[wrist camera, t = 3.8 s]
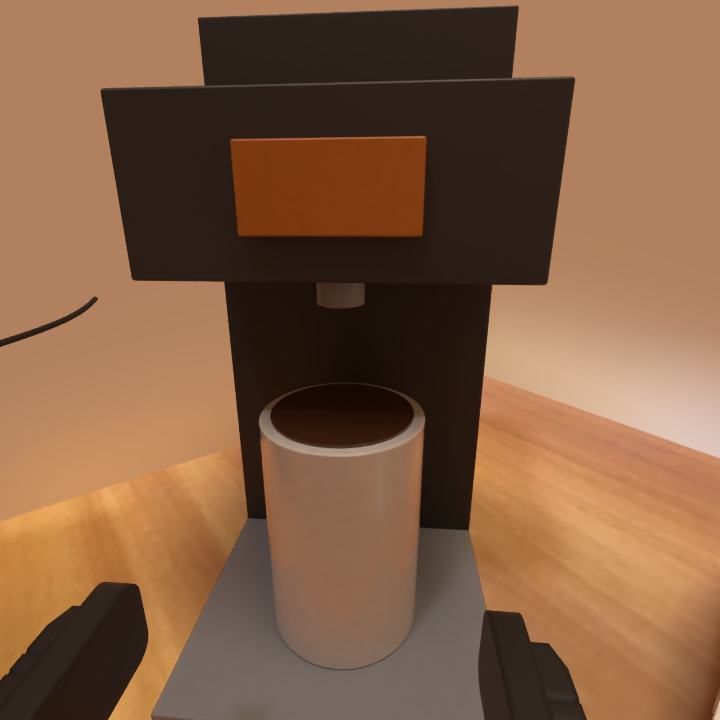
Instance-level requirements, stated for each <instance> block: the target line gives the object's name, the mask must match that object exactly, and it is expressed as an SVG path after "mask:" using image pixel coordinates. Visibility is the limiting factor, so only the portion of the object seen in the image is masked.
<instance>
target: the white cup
mask: <svg viewBox="0 0 720 720" xmlns="http://www.w3.org/2000/svg"><path fill="white" fill-rule="evenodd" d="M259 431H260V443H261V455H262V467H263V479H264V491H265V503H266V515H267V527H268V539H269V551H270V562H271V574H272V586H273V598H274V610H275V620H276V624H277V628H278V630H279V633H280V635H281V636H282V638H283V640H284V641H285V643H286V644H287V645H288V646H289V648H290V649H291V650H292V651H294V652H295V653H296V654H297V655H298V656H300V657H301V658H303V659H304V660H306V661H308V662H310V663H312V664H314V665H317V666H321V667H324V668H329V669H338V670H348V669H357V668H361V667H366V666H369V665H371V664H374V663H377V662H378V661H380V660H382V659H384V658H386V657H387V656H388V655H390V654H391V653H393V652H394V651H395V650H396V649H397V648H398V647H399V646H400V645H401V644H402V642H403V641H404V640H405V638H406V637H407V635H408V633H409V632H410V630H411V627H412V625H413V622H414V617H415V607H416V588H417V569H418V549H419V530H420V510H421V491H422V472H423V452H424V433H425V414H424V411H423V410H422V408H421V406H420V405H419V404H418V403H417V402H416V401H415V400H413V399H412V398H410V397H409V396H407V395H405V394H403V393H401V392H398V391H396V390H393V389H389V388H386V387H382V386H377V385H371V384H362V383H328V384H320V385H314V386H308V387H304V388H300V389H297V390H294V391H291V392H288V393H286V394H284V395H282V396H280V397H278V398H276V399H274V400H273V401H271V402H270V403H269V404H268V405H267V406H266V407H265V408H264V409H263V411H262V413H261V415H260V418H259Z"/></svg>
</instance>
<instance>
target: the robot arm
mask: <svg viewBox="0 0 720 720" xmlns="http://www.w3.org/2000/svg"><path fill="white" fill-rule="evenodd" d="M97 300H98V298H97V297H93V298H92V299H91V300H90V301H89V302H88V303H87V304H86V305H84V306H83V307H81V308H80V309H78V310H77V311H75V312H73V313H71V314H69V315H67V316H65V317H63V318H61V319H59V320H56V321H54V322H52V323H49V324H46V325H44V326H41V327H38V328H35V329H32V330H30V331H27V332H24V333H21V334H18V335H15V336H11V337H9V338H5V339H2V340H0V347H1V346H4V345H7V344H10V343H13V342H16V341H19V340H22V339H25V338H28V337H31V336H33V335H36V334H39V333H42V332H44V331H47V330H49V329H52V328H54V327H56V326H59V325H61V324H64V323H66V322H68V321H70V320H72V319H73V318H75V317H77V316H79V315H81V314H82V313H83V312H85V311H86V310H88V309H89V308H90V307H91V306H92V305H93V304H94V303H95V302H96V301H97ZM147 643H148V627H147V623H146V618H145V613H144V608H143V604H142V599H141V594H140V590H139V587H138V586H137V585H136V584H129V583H115V582H102V583H100V584H99V585H98V586H97V587H96V588H95V589H94V590H93V591H92V592H91V594H90V595H89V596H88V597H87V598H86V600H85V601H84V602H83V603H82V605H81V606H72V607H71V608H69V609H68V610H67V611H65V612H64V613H63V614H61V615H60V616H59V617H57V618H56V619H55V620H53V621H52V622H51V623H50V624H48V625H47V626H46V627H45V628H44V630H43V631H42V632H41V633H40V634H39V636H38V637H37V638H36V639H35V640H34V641H33V643H32V644H31V645H30V646H29V647H28V648H27V652H26V653H25V654H22V656H21V657H20V658H19V659H18V660H17V661H16V663H15V664H14V665H13V666H12V667H11V668H10V672H9V673H8V675H5V676H4V677H3V678H2V679H1V680H0V720H108V719H109V717H110V715H111V713H112V712H113V710H114V708H115V707H116V705H117V703H118V701H119V700H120V698H121V696H122V694H123V693H124V691H125V689H126V687H127V686H128V684H129V682H130V680H131V679H132V677H133V675H134V673H135V672H136V670H137V668H138V666H139V665H140V663H141V661H142V659H143V656H144V654H145V651H146V647H147ZM478 679H479V689H480V696H481V702H482V708H483V714H484V720H587V719H586V716H585V714H584V711H583V708H582V705H581V704H580V703H579V697H578V695H577V692H576V689H575V687H574V684H573V681H572V678H571V676H570V673H569V670H568V668H567V667H566V666H565V664H564V663H563V662H562V660H561V659H560V658H559V656H558V655H557V654H556V652H555V651H554V650H553V649H552V647H551V646H550V645H549V643H536V642H530V639H529V636H528V633H527V630H526V626H525V623H524V620H523V617H522V615H521V614H520V613H517V612H503V611H489V610H485V612H484V615H483V623H482V632H481V640H480V648H479V657H478Z"/></svg>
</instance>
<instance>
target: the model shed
mask: <svg viewBox="0 0 720 720" xmlns="http://www.w3.org/2000/svg"><path fill="white" fill-rule="evenodd" d="M712 713H714V714H713V717H712V719H711V720H720V690H719V692H718V695H717V698H716V700H715V703H714V706H713V709H712Z"/></svg>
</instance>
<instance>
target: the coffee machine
mask: <svg viewBox="0 0 720 720" xmlns="http://www.w3.org/2000/svg"><path fill="white" fill-rule="evenodd" d="M518 9H519V7H518V6H517V5H516V6H493V7H492V6H491V7H464V8H440V9H439V8H438V9H411V10H385V11H359V12H334V13H333V12H332V13H306V14H280V15H253V16H228V17H201V18H198V24H199V34H200V44H201V54H202V64H203V73H204V83H205V86H177V87H176V86H175V87H139V88H137V87H134V88H103V89H101V97H102V103H103V109H104V115H105V121H106V127H107V133H108V139H109V145H110V151H111V157H112V163H113V169H114V174H115V180H116V186H117V193H118V199H119V204H120V210H121V216H122V221H123V228H124V234H125V240H126V246H127V252H128V258H129V264H130V270H131V276H132V279H133V280H136V281H215V282H224V283H225V293H226V303H227V313H228V322H229V333H230V343H231V353H232V362H233V372H234V382H235V392H236V402H237V412H238V421H239V432H240V441H241V452H242V462H243V472H244V482H245V492H246V502H247V512H248V519H247V521H246V523H245V525H244V527H243V529H242V531H241V533H240V535H239V537H238V539H237V541H236V543H235V545H234V547H233V549H232V552H231V554H230V556H229V558H228V560H227V562H226V564H225V566H224V568H223V570H222V572H221V574H220V576H219V578H218V580H217V582H216V584H215V586H214V588H213V590H212V592H211V594H210V596H209V598H208V600H207V602H206V604H205V606H204V608H203V610H202V612H201V615H200V617H199V619H198V621H197V623H196V625H195V627H194V629H193V631H192V633H191V635H190V637H189V639H188V641H187V643H186V645H185V647H184V649H183V651H182V653H181V655H180V657H179V659H178V661H177V663H176V665H175V667H174V669H173V671H172V673H171V675H170V678H169V680H168V682H167V684H166V686H165V688H164V690H163V692H162V694H161V696H160V698H159V700H158V702H157V704H156V706H155V708H154V710H153V712H152V714H151V717H152V720H484V714H483V708H482V702H481V696H480V689H479V679H478V657H479V648H480V640H481V632H482V623H483V615H484V612H485V610H486V606H485V601H484V597H483V592H482V588H481V583H480V579H479V574H478V570H477V565H476V561H475V556H474V552H473V547H472V543H471V538H470V534H469V522H470V512H471V501H472V491H473V480H474V470H475V459H476V449H477V438H478V428H479V417H480V407H481V397H482V386H483V376H484V365H485V355H486V344H487V334H488V323H489V312H490V302H491V291H492V285H546V284H547V282H548V275H549V268H550V260H551V253H552V246H553V238H554V231H555V223H556V217H557V209H558V202H559V194H560V187H561V180H562V172H563V165H564V157H565V149H566V143H567V135H568V128H569V121H570V113H571V106H572V99H573V92H574V84H575V78H574V77H534V78H533V77H532V78H512V72H513V62H514V51H515V40H516V30H517V19H518ZM328 383H362V384H371V385H377V386H382V387H386V388H389V389H393V390H396V391H398V392H401V393H403V394H405V395H407V396H409V397H410V398H412V399H413V400H415V401H416V402H417V403H418V404H419V405H420V406H421V408H422V410H423V411H424V414H425V433H424V452H423V472H422V491H421V510H420V530H419V549H418V569H417V588H416V607H415V617H414V622H413V625H412V627H411V630H410V632H409V633H408V635H407V637H406V638H405V640H404V641H403V642H402V644H401V645H400V646H399V647H398V648H397V649H396V650H395V651H394V652H393V653H391V654H390V655H388V656H387V657H386V658H384V659H382V660H380V661H378V662H377V663H374V664H371V665H369V666H366V667H361V668H357V669H348V670H338V669H329V668H324V667H321V666H317V665H314V664H312V663H310V662H308V661H306V660H304V659H303V658H301V657H300V656H298V655H297V654H296V653H295V652H294V651H292V650H291V649H290V648H289V646H288V645H287V644H286V643H285V641H284V640H283V638H282V636H281V635H280V633H279V630H278V628H277V624H276V620H275V610H274V598H273V586H272V574H271V562H270V551H269V539H268V527H267V515H266V503H265V491H264V479H263V467H262V455H261V443H260V431H259V418H260V415H261V413H262V411H263V409H264V408H265V407H266V406H267V405H268V404H269V403H270V402H271V401H273V400H274V399H276V398H278V397H280V396H282V395H284V394H286V393H288V392H291V391H294V390H297V389H300V388H304V387H308V386H314V385H320V384H328Z"/></svg>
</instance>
